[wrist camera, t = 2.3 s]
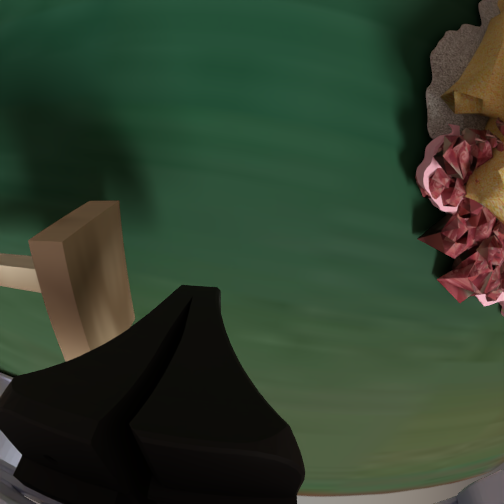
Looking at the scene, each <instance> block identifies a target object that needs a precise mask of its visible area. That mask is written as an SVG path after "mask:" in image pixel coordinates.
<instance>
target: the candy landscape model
mask: <svg viewBox="0 0 504 504" xmlns="http://www.w3.org/2000/svg"><path fill="white" fill-rule="evenodd" d="M478 8H479V13H480V17H481V22H482V25H481V26H480V27H477V26H473V25H470V24H463V25H462V26H461V28H460V29H459V30H458V31H453V30H449V31H447V32H446V33H445V35H444V37H443V38H442V39H441V40H440V41H439V42H438V44H437V46H436V48H435V49H434V50H433V51H432V52H431V55H430V62H431V69H432V82H431V84H430V85H429V87H428V88H427V90H426V102H427V113H428V120H427V129H428V132H429V135H430V137H431V138H432V139H433V140H432V141H431V142H430V143H429V144H428V145H427V147H426V149H425V157H424V160H423V161H422V163H421V164H420V165H419V166H418V167H417V170H416V176H415V178H416V181H417V184H418V185H419V188H420V190H421V192H422V195H423V197H425V198H429V199H430V201H431V202H432V204H433V205H434V206H435V207H437V208H438V209H440V210H442V211H444V212H446V216H444V217H443V218H442V219H441V220H440V221H438V222H437V223H436V224H435V225H434V226H432V227H431V228H430V229H429V230H427V231H426V232H425V233H424V234H423V235H421V236H420V237H419V238H418V240H420V241H422V242H424V243H426V244H428V245H430V246H432V247H433V248H435V249H437V250H439V251H441V252H443V253H444V254H446V255H448V256H450V257H452V258H454V259H455V260H454V262H453V265H452V267H451V268H452V269H453V270H452V271H450V272H448V273H447V274H445V275H443V276H441V277H440V278H438V279H437V280H438V281H439V282H440V283H441V284H442V285H443V286H444V287H445V288H446V289H447V290H448V291H449V292H450V293H451V294H452V295H453V296H454V298H455V299H456V300H457V301H458V302H459V303H461V302H462V301H464V300H465V299H466V298H468V297H469V296H474V295H475V296H476V297H477V299H478V300H479V301H480V302H481V303H482V304H483V305H484V306H488V305H491V304H494V303H497V302H499V304H500V305H501V306H502V309H501V314H502V315H503V316H504V0H482V1H481V2H479V5H478Z"/></svg>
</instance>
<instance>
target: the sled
mask: <svg viewBox="0 0 504 504" xmlns="http://www.w3.org/2000/svg"><path fill="white" fill-rule="evenodd" d="M28 241H29V246H30V250H31V255H32V256H25V255H13V254H2V253H0V286H5V287H10V288H16V289H22V290H28V291H34V292H40V293H42V296H43V299H44V303H45V306H46V309H47V312H48V315H49V318H50V321H51V324H52V327H53V329H54V332H55V335H56V338H57V340H58V343H59V346H60V348H61V351H62V353H63V356H64V358H65V361H69V360H71V359H74V358H76V357H79V356H81V355H83V354H85V353H87V352H89V351H91V350H93V349H95V348H97V347H99V346H101V345H103V344H105V343H107V342H108V341H110V340H112V339H113V338H115V337H117V336H118V335H120V334H121V333H123V332H124V331H126V330H127V329H129V328H130V327H131V325H132V323H133V321H134V319H135V315H134V310H133V304H132V299H131V293H130V287H129V280H128V274H127V267H126V260H125V252H124V244H123V236H122V227H121V217H120V206H119V201H89V202H87V203H85V204H84V205H82V206H80V207H79V208H77V209H75V210H74V211H72V212H71V213H69V214H67V215H66V216H64V217H63V218H61V219H59V220H58V221H56V222H55V223H53V224H52V225H50V226H49V227H47V228H46V229H44V230H43V231H41V232H40V233H38V234H37V235H35V236H34V237H32V238H31V239H30V240H28Z"/></svg>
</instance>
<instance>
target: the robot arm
mask: <svg viewBox="0 0 504 504" xmlns="http://www.w3.org/2000/svg"><path fill="white" fill-rule="evenodd" d="M304 477H305V468H304V463H303V459H302V456H301V452H300V450H299V447H298V444H297V442H296V439H295V437H294V435H293V433H292V430H291V428H290V426H289V425H288V424H287V423H286V422H285V421H284V420H283V419H282V418H281V417H280V416H279V415H278V414H277V413H276V411H275V410H274V409H273V408H272V407H271V406H270V405H269V404H268V402H267V401H266V400H265V399H264V398H263V396H262V395H261V394H260V393H259V391H258V390H257V388H256V387H255V386H254V384H253V383H252V381H251V380H250V378H249V377H248V375H247V374H246V372H245V371H244V369H243V367H242V366H241V364H240V362H239V360H238V358H237V356H236V354H235V352H234V350H233V348H232V346H231V343H230V341H229V338H228V336H227V333H226V330H225V327H224V324H223V320H222V316H221V291H220V290H219V289H218V288H217V287H204V286H189V285H181V286H180V287H179V288H178V289H177V290H175V291H174V292H173V293H172V294H171V295H170V296H169V297H167V298H166V299H165V300H164V301H163V302H162V303H161V304H159V305H158V306H157V307H156V308H155V309H153V310H152V311H151V312H150V313H149V314H147V315H146V316H145V317H143V318H142V319H141V320H140V321H138V322H137V323H136V324H134V325H133V326H132V327H130V328H129V329H127V330H126V331H124V332H123V333H121V334H120V335H118V336H117V337H115V338H113V339H112V340H110V341H108V342H107V343H105V344H103V345H101V346H99V347H97V348H95V349H93V350H91V351H89V352H87V353H85V354H83V355H81V356H79V357H76V358H74V359H71V360H69V361H66V362H64V363H61V364H58V365H55V366H52V367H49V368H46V369H43V370H39V371H35V372H31V373H27V374H23V375H19V376H14V378H13V377H10V376H8V375H5V374H3V373H0V504H36V503H34V502H33V501H31V500H29V499H28V498H26V497H29V498H30V499H32V500H34V501H36V502H38V503H40V504H297V493H298V491H299V489H300V487H301V485H302V483H303V481H304ZM24 495H25V496H26V497H24ZM434 504H504V470H499V471H497V472H495V473H493V474H491V475H488V476H486V477H484V478H481V479H479V480H477V481H475V482H473V483H472V484H470V485H468V486H467V487H466V488H464V489H463V490H462V491H461V492H459V493H458V495H457V496H455V497H452V498H449V499H446V500H443V501H440V502H438V503H434Z"/></svg>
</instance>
